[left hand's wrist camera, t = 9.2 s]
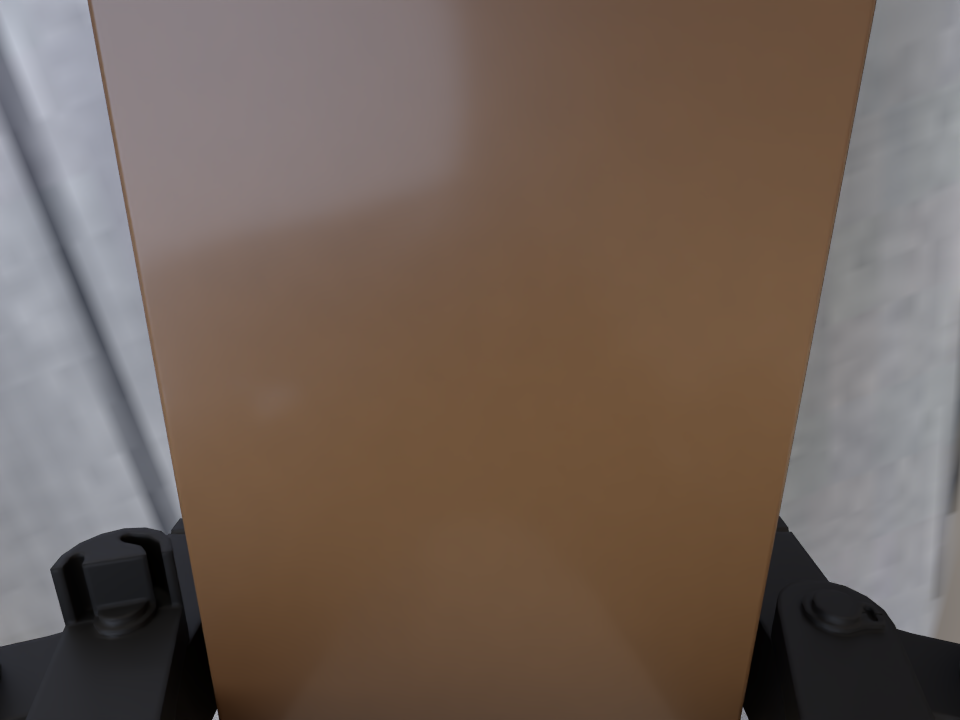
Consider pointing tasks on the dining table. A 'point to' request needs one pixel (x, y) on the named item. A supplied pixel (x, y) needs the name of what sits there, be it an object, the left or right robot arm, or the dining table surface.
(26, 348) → the dining table surface
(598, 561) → the post
